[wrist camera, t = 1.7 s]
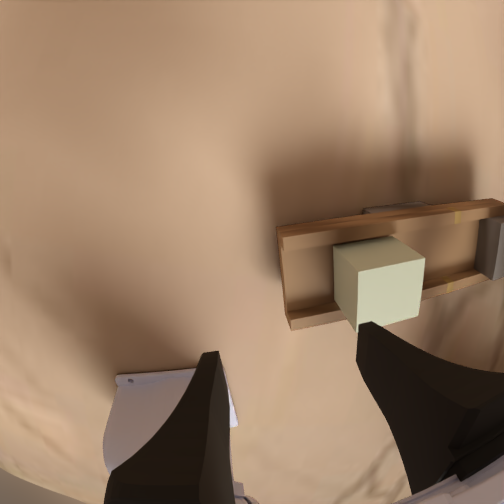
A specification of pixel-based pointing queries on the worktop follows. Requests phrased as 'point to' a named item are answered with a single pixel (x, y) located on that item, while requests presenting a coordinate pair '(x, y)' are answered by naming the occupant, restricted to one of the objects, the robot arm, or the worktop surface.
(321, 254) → the beam
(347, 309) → the block
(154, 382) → the robot arm
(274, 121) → the worktop surface
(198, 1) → the worktop surface
